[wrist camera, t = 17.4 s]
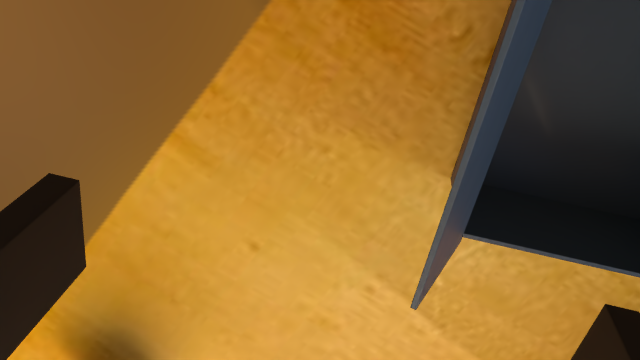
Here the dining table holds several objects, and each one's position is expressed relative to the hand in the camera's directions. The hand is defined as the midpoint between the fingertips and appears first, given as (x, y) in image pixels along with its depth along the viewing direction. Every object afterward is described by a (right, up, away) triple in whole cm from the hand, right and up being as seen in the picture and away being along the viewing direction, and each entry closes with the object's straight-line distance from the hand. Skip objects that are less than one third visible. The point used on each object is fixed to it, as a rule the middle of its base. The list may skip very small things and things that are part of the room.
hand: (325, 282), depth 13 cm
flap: (+8, +5, +11) cm, 15 cm away
